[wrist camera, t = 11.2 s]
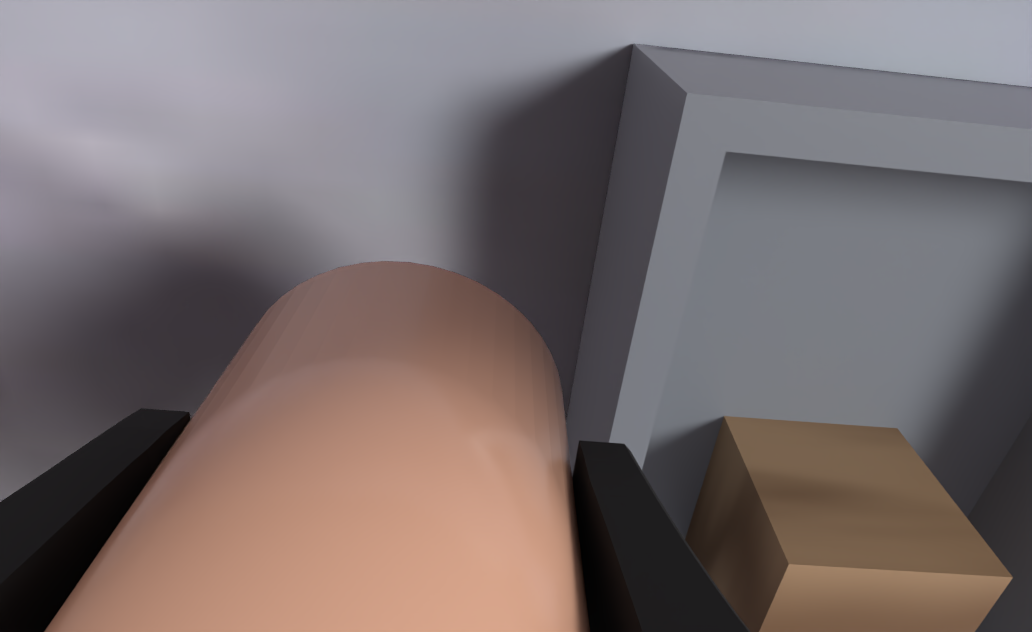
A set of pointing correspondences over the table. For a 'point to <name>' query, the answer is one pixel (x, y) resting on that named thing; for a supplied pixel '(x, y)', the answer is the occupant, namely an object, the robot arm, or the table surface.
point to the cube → (837, 533)
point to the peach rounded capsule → (359, 476)
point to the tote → (818, 277)
